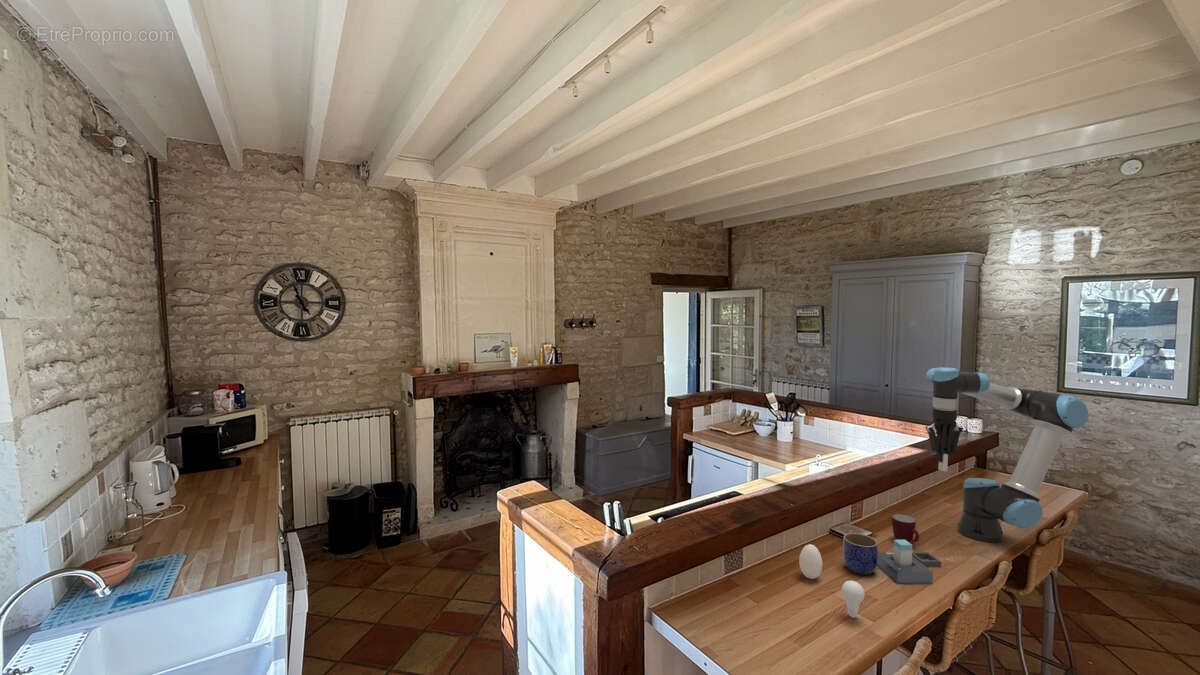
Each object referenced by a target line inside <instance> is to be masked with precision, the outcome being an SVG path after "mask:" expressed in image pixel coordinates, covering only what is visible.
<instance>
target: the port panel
mask: <svg viewBox="0 0 1200 675" xmlns="http://www.w3.org/2000/svg"><path fill="white" fill-rule="evenodd" d="M893 556H894V551H878V558H877V566H876V567H878V568H879V569H881V570H882V571H883V572H884V573H885V574H886V575H887V576H888V577H890V578H891V580H893V581H894V582H895V583H896V584H898V585H899V584H901V585H902V584H933V577H934V573H933V571H932V570H931V569H930V568H929V567H926V566H925V565H923V564H922V563H921V562H919V561H918V560H917V559H915V558H914V557H913V556H912V566H899V565H897V564H896V563H895V562H894V561H893Z"/></svg>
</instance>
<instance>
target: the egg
mask: <svg viewBox="0 0 1200 675" xmlns="http://www.w3.org/2000/svg"><path fill="white" fill-rule="evenodd" d="M821 555H822V554H821V553H820V551H819V549H818V548H817V547H816V545H814V544H810V543H809V544H807V545H806V544H805V546H804V547H803V548H802V550H801V552H800V553H799V559H798V560H799V562H798V563H799V568H800V570H801V573H802V574H803V575H804V576H805V577H806V578H807V579H810V580H815V579H816V578H818V577H819V576H820V575H821V573H822V570H823V559H822V556H821Z"/></svg>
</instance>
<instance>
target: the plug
mask: <svg viewBox="0 0 1200 675" xmlns="http://www.w3.org/2000/svg"><path fill="white" fill-rule="evenodd" d="M893 552H894V556H893V561H894V562H895V563H896V564H897V565H899V566H912V552H913V544H912V543H911V542H910V543H909V542H908V541H906V540H896V539H893Z"/></svg>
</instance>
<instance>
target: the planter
mask: <svg viewBox="0 0 1200 675" xmlns="http://www.w3.org/2000/svg"><path fill="white" fill-rule="evenodd" d="M842 540H843V543H842V548H843V549H842V550H843V551H842V554H843V555H842V556H843V562H844V564H845V566H846V567H847V569H848V570H850V571H851V572H853V573H854V574H858V575H860V576H861V575H863V576H867V575H871V574H873V573H874V572H875V571H876V569H877V567H878V566H877V558H878V552H879V549H878V548H879V543H878V541H877V540H876V539H875V538H874V537H872V536H870V535H867V534H863V533H858V532H850V533H846V534H844V535H843V539H842Z"/></svg>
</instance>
